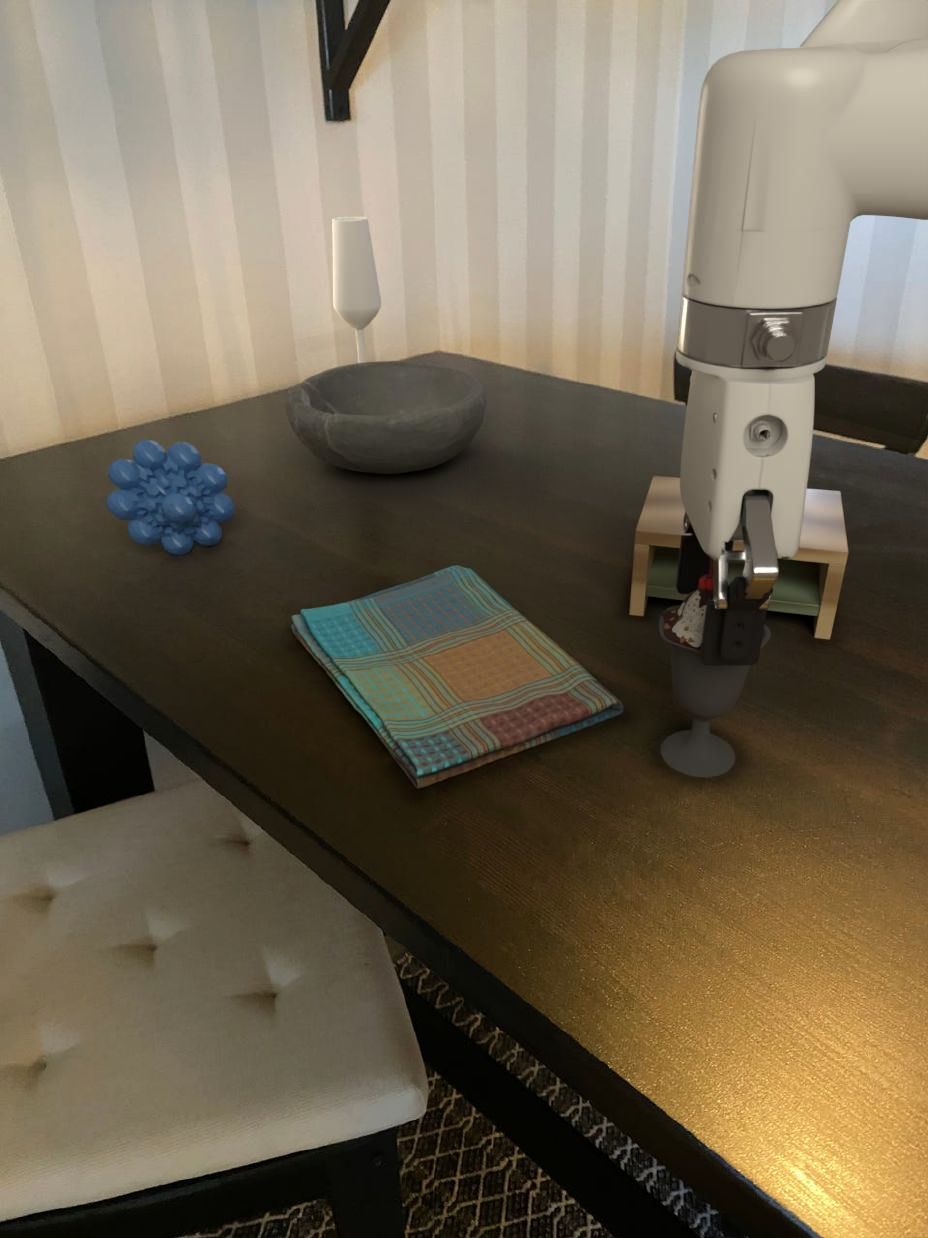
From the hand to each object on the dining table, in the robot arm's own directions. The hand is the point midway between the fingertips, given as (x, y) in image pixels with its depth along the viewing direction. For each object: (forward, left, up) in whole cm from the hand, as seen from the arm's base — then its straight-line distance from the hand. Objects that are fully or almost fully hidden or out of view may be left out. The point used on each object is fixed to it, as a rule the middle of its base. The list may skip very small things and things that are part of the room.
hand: (713, 623), depth 55 cm
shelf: (-7, -22, -10) cm, 25 cm away
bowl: (+26, -54, -10) cm, 61 cm away
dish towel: (+17, -10, -10) cm, 23 cm away
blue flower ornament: (+44, -30, -10) cm, 54 cm away
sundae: (0, 0, -10) cm, 10 cm away
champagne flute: (+33, -82, -10) cm, 89 cm away
